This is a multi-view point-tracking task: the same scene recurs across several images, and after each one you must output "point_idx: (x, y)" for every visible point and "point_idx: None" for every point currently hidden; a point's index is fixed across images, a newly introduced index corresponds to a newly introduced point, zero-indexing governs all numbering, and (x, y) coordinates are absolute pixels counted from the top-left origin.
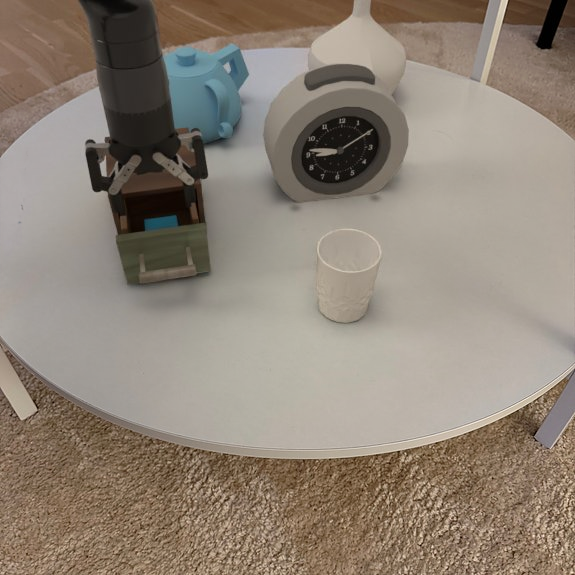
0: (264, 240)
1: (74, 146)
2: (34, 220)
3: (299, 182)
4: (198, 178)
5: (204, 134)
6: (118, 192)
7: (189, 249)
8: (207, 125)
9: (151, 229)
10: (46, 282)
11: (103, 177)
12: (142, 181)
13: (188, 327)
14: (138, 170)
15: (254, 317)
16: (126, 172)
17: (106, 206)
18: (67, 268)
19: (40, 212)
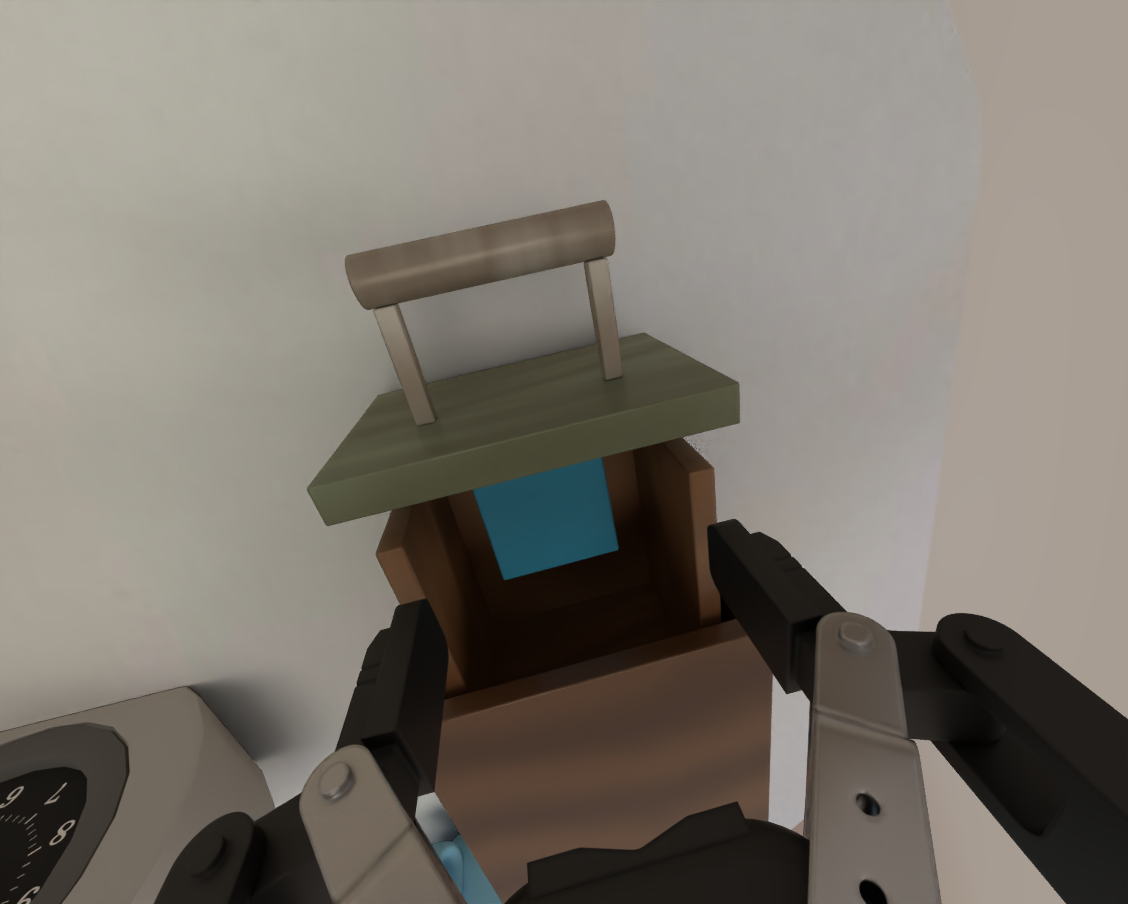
0: (244, 542)
1: (775, 756)
2: (867, 560)
3: (129, 762)
4: (286, 807)
5: None
6: (802, 633)
7: (412, 406)
8: (484, 878)
9: (587, 505)
10: (857, 354)
11: (937, 731)
12: (644, 707)
13: (410, 126)
14: (744, 867)
15: (153, 169)
16: (874, 846)
17: None
18: (803, 408)
19: (853, 584)
